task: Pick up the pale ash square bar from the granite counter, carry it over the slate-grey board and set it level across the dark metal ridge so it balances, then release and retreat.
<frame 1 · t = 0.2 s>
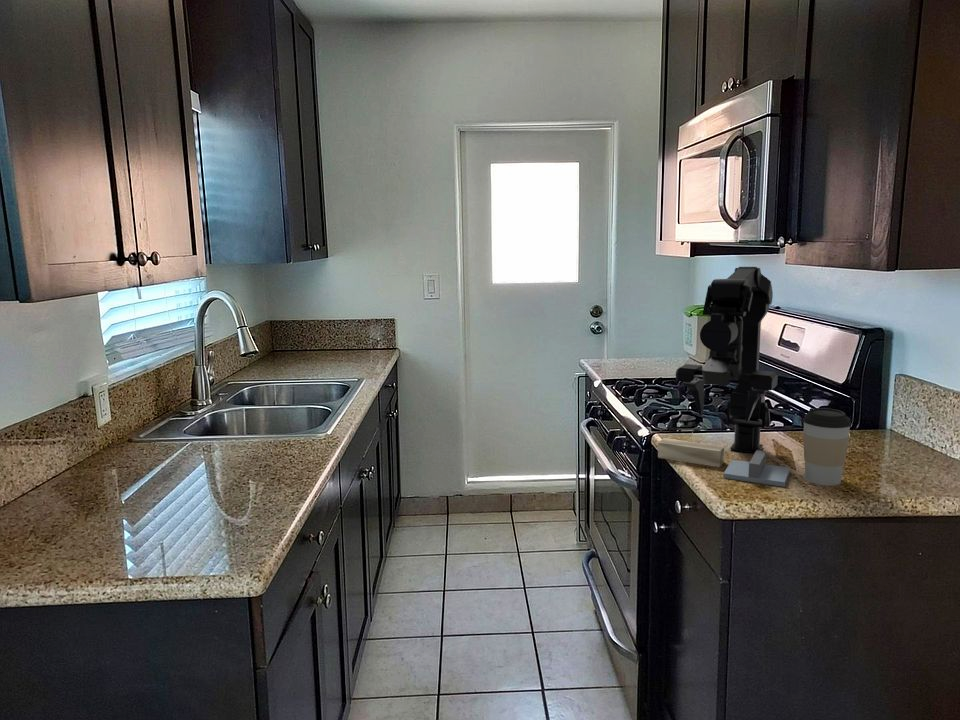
hand: (723, 418, 139), 14 cm above the counter, fingers open, 9 cm apart
ash bar: (690, 461, 157), on the counter
coffee cup: (822, 480, 143), on the counter
ridge stand: (756, 474, 146), on the counter
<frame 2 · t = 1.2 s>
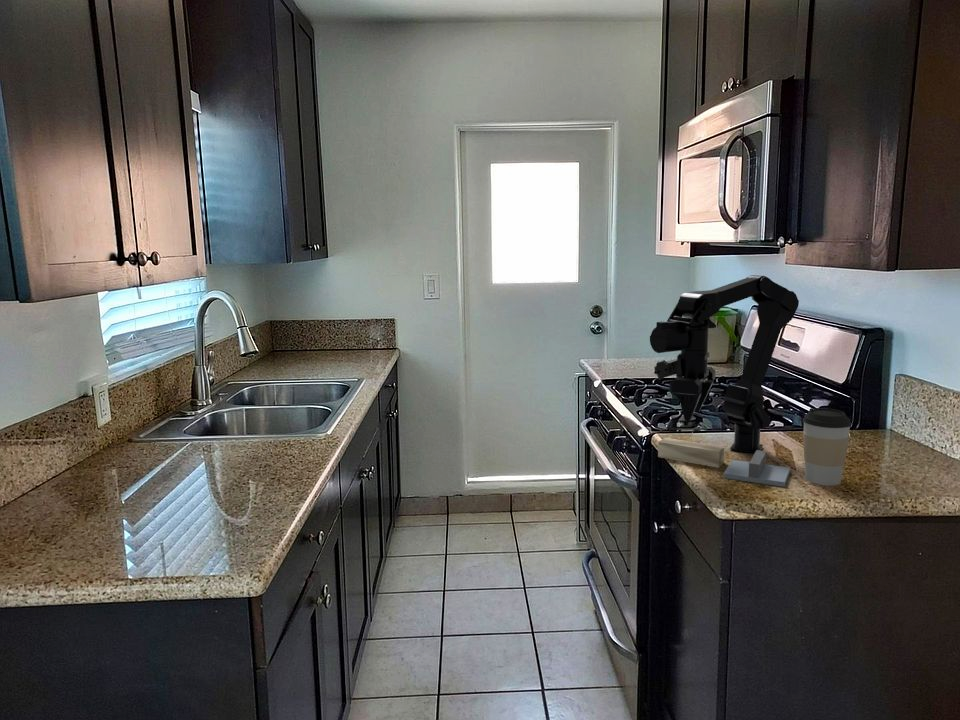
hand: (692, 416, 155), 10 cm above the counter, fingers open, 9 cm apart
nothing on the counter moved.
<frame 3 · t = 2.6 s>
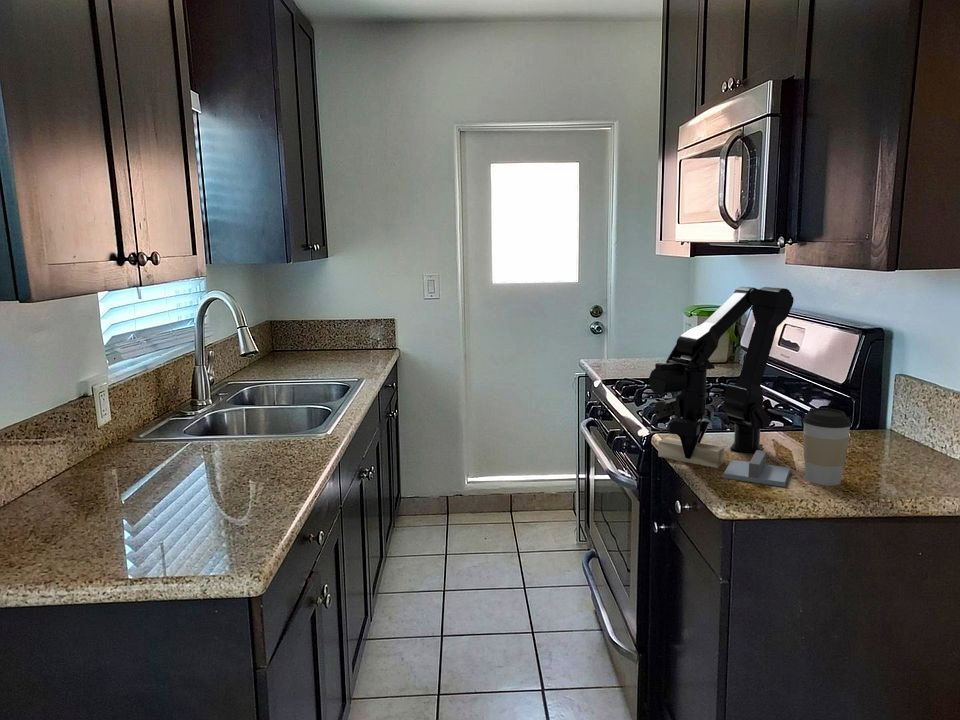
hand: (690, 455, 157), 1 cm above the counter, fingers closed on ash bar, 4 cm apart
ash bar: (690, 460, 157), on the counter, touching gripper
everything else where it was.
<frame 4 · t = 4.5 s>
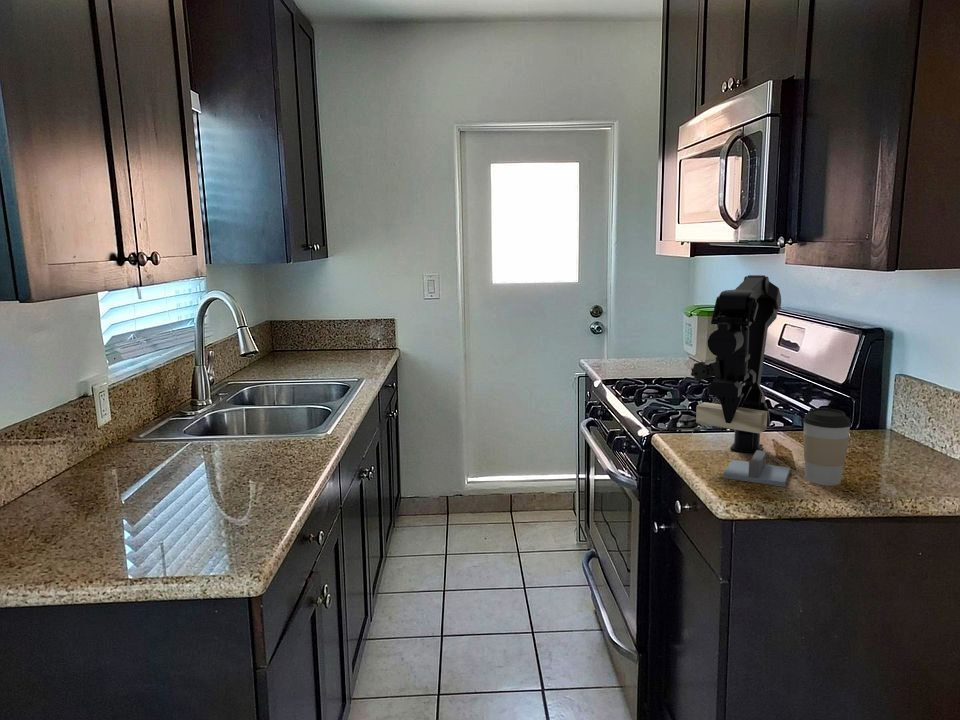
hand: (730, 420, 149), 11 cm above the counter, fingers closed on ash bar, 4 cm apart
ash bar: (730, 426, 149), point 10 cm above the counter, touching gripper
everything else where it was.
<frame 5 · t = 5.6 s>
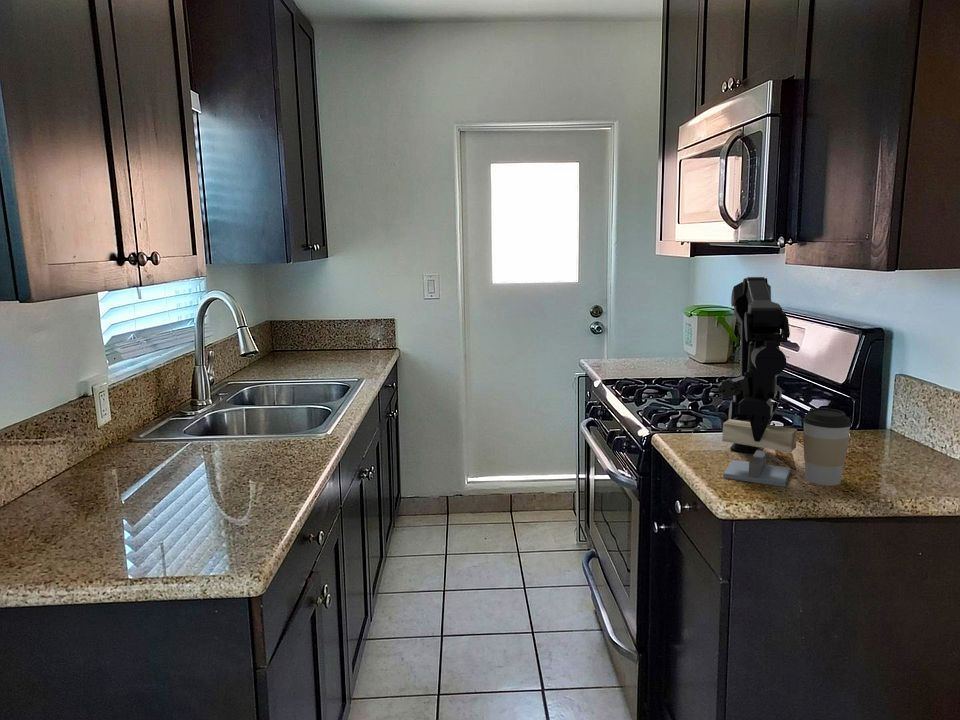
hand: (758, 438, 145), 8 cm above the counter, fingers closed on ash bar, 4 cm apart
ash bar: (758, 444, 145), point 7 cm above the counter, touching gripper
everything else where it was.
when the fingers open (6 cm above the counter, at t = 6.4 s): ash bar stays where it is, resting on ridge stand.
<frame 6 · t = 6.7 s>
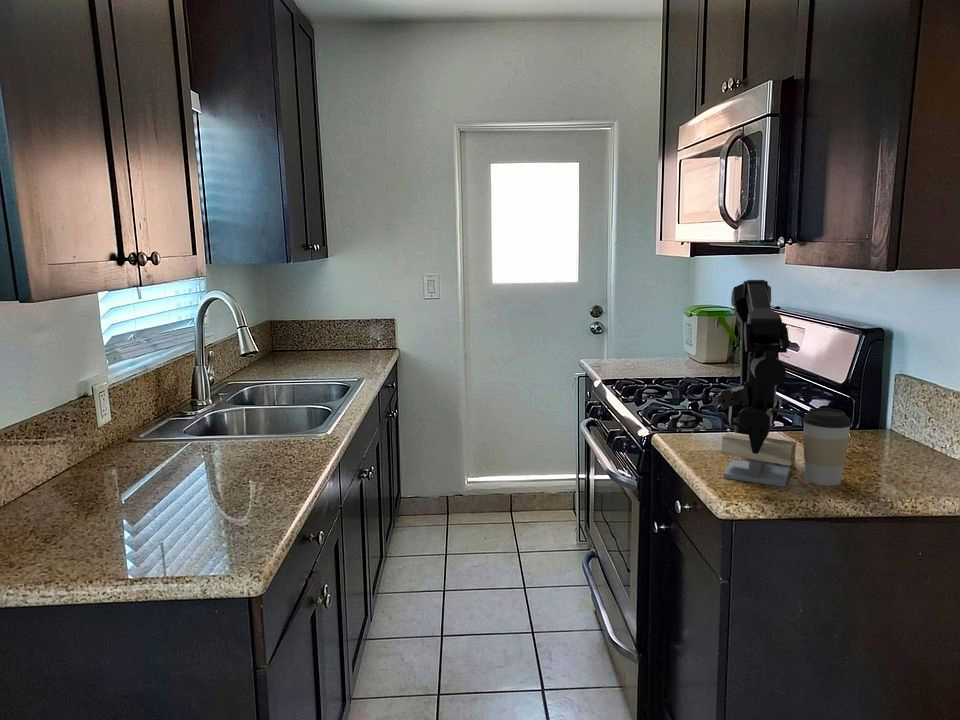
hand: (758, 448, 145), 6 cm above the counter, fingers open, 8 cm apart
ash bar: (757, 457, 146), point 4 cm above the counter, touching ridge stand
everything else where it was.
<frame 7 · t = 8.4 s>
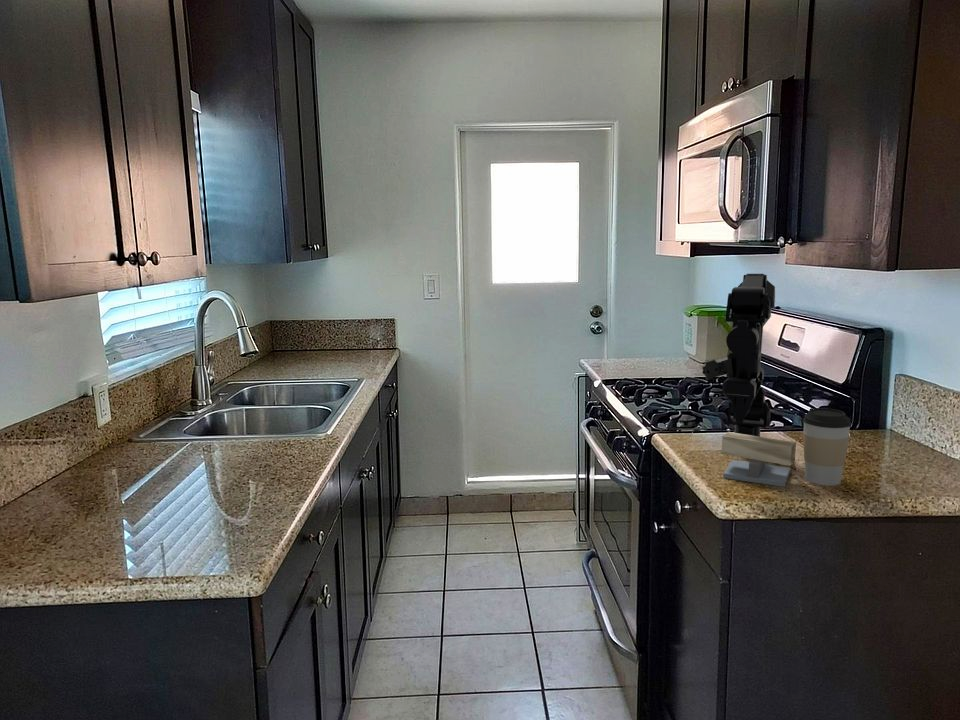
hand: (742, 418, 147), 12 cm above the counter, fingers open, 9 cm apart
nothing on the counter moved.
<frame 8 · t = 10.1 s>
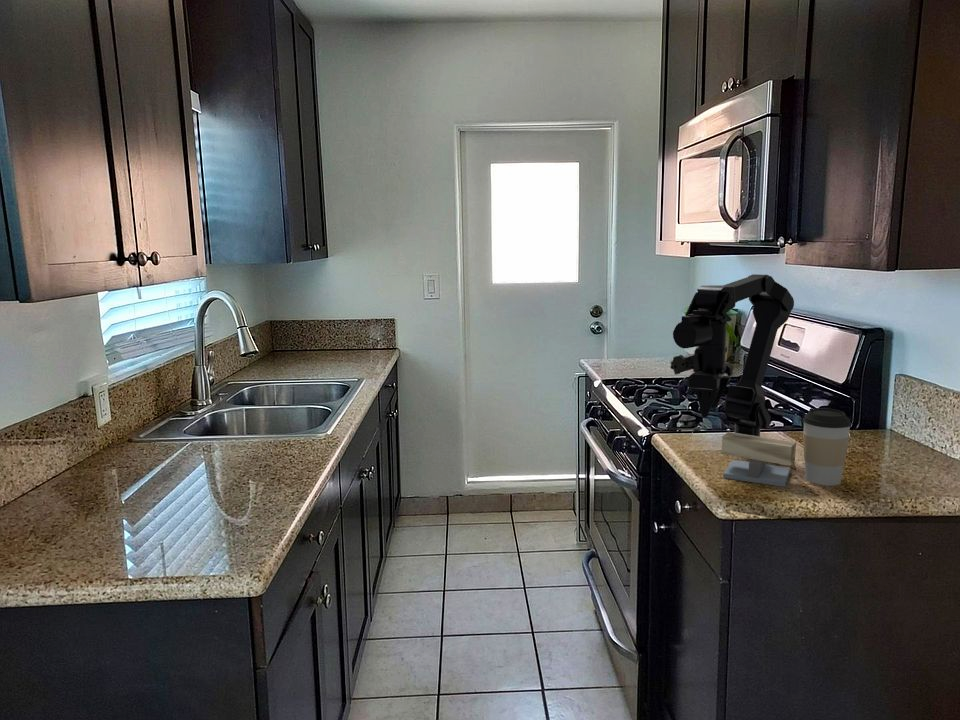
hand: (709, 412, 152), 12 cm above the counter, fingers open, 9 cm apart
nothing on the counter moved.
at the end: ash bar 0.0 cm off-centre on the ridge stand, point 4.0 cm above the ridge stand's base; ash bar tilted 0°; ash bar touching ridge stand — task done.
